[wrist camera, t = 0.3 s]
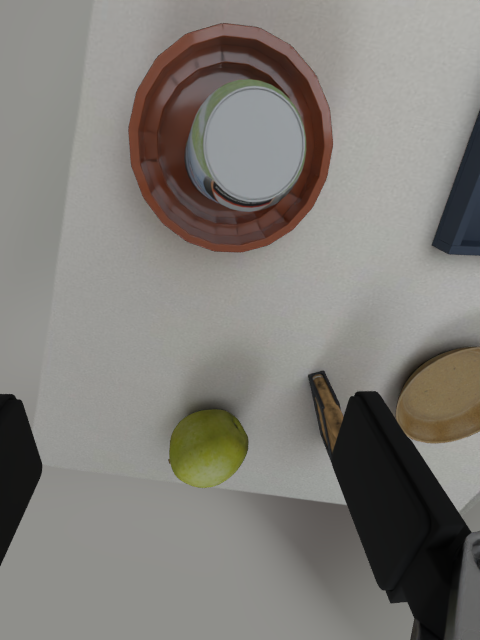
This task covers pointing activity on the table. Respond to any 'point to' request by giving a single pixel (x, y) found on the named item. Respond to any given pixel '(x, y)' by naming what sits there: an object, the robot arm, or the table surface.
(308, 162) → the bowl
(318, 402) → the ammunition clip
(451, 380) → the plant saucer
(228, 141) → the beverage can
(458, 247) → the tray
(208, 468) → the apple
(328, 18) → the table surface
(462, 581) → the robot arm
